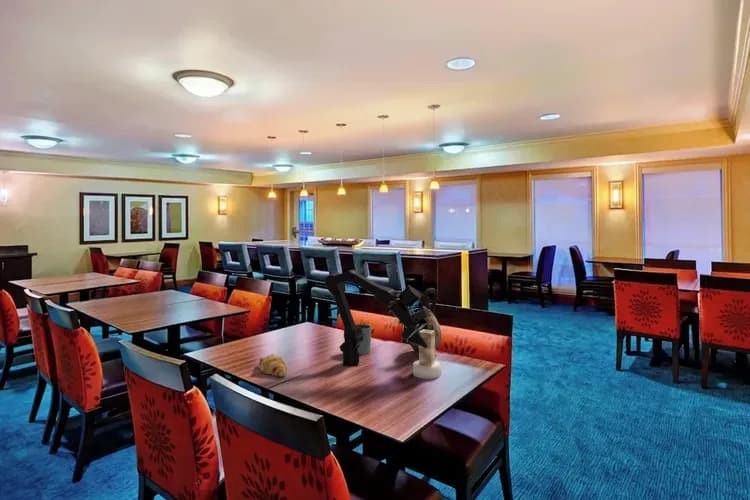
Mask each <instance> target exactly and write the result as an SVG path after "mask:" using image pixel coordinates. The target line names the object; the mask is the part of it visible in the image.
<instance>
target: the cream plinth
mask: <svg viewBox="0 0 750 500" xmlns="http://www.w3.org/2000/svg"><path fill="white" fill-rule="evenodd" d="M412 368H413V369H412V370H413V371H412V374H413V376H414V377H416V378H419V379H423V380H434V379H438V378H440V377H441V376H442V363H441V362H439V361H437V360H435V363H434V365H433V366H432V367H430V366H422V365H419V359H418V360H416V361H413V363H412Z"/></svg>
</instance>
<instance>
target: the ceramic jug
mask: <svg viewBox="0 0 750 500" xmlns="http://www.w3.org/2000/svg"><path fill="white" fill-rule="evenodd" d="M418 292H419V293H420V295H421V298H420V299H419V300H418V301H417V302H418V303H419V304H421V305H420V308H421V307H423V306H424V307H426V308H427V309H429V314H430V316H428V317H427V318H428V319H429V321H428V322H429V330H435V350H437V348H438V347H440V345H441V342H442V338H443V337H442V336H443V335H442V334H443V333H442V330H441V326H440V323H439V322H438V320H437V318H436V316H435V309H436V304H437V301H438V299H439V293H438V290H437V289H435V288H434V287H428V288H427V289H425V290H424V293H422V292H420V291H418ZM430 293H431V294H433V298H432V299H431V297H430V296H429V294H430ZM429 303H431V304H430V305H429ZM418 311H420V309H419V310H418ZM428 322H427V323H428ZM427 323H426V324H427ZM408 339H409V337H408V338H407V340H408ZM408 344H409V345H410V347H411V349H412V350H413V353H414V354H415V355H418V356H419V345H418V344H415V343H413V342H410V341H408Z"/></svg>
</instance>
